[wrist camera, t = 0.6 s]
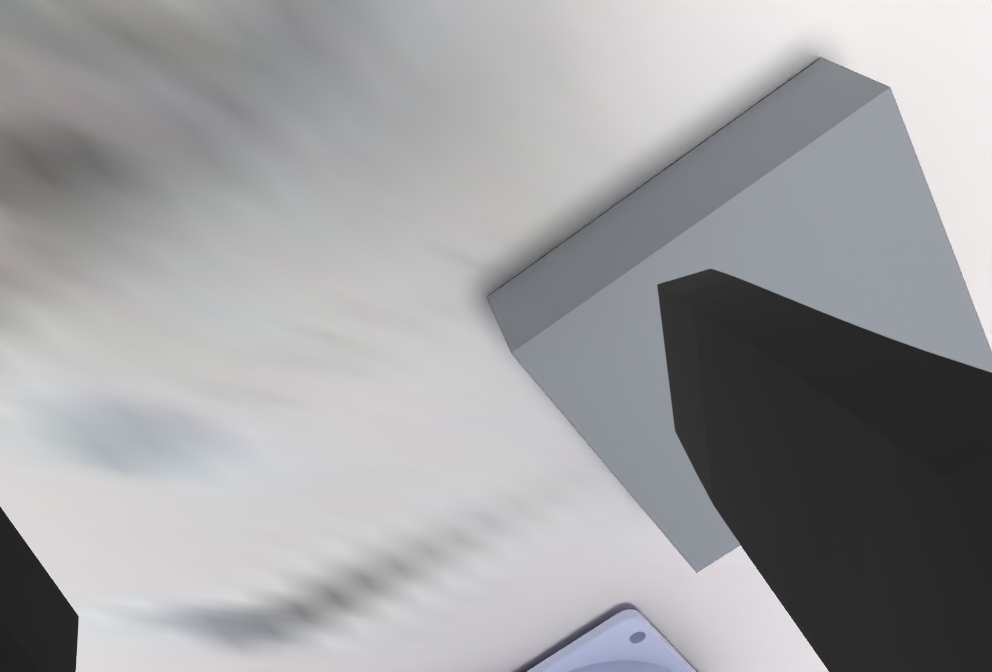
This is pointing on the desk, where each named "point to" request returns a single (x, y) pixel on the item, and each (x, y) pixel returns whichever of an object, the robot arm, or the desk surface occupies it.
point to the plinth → (739, 274)
